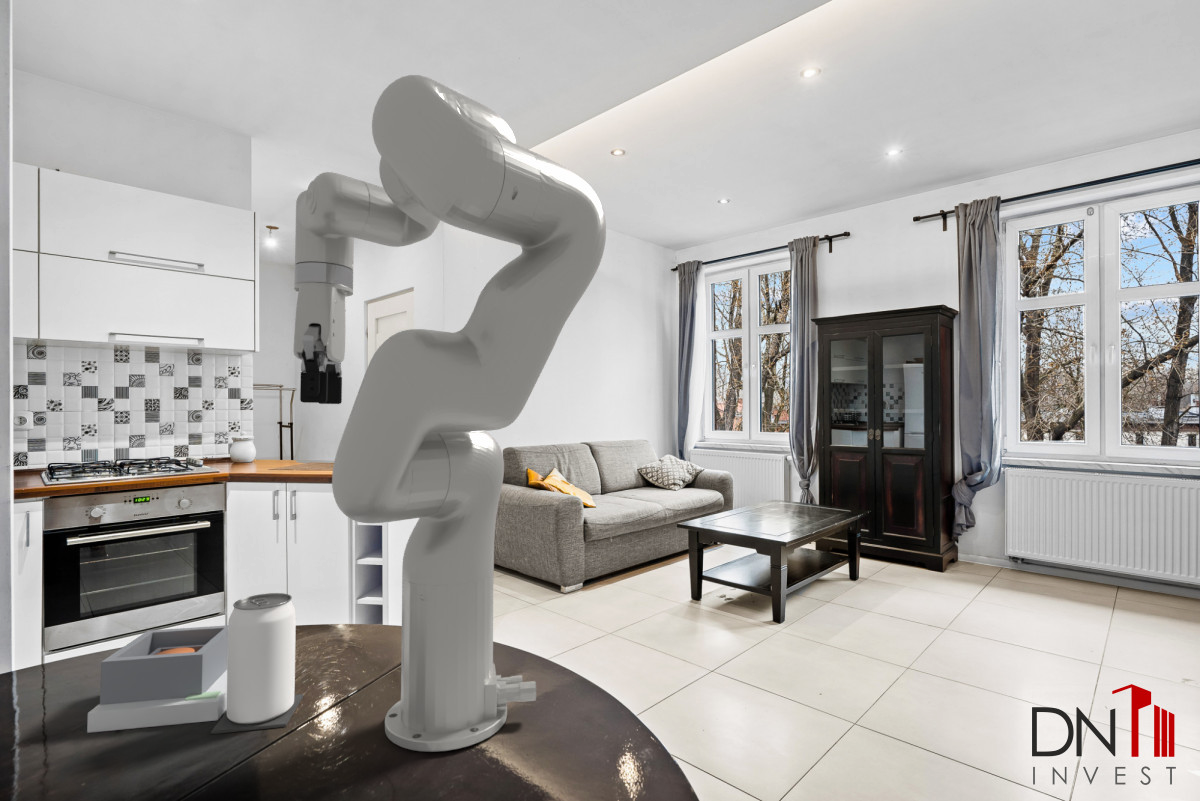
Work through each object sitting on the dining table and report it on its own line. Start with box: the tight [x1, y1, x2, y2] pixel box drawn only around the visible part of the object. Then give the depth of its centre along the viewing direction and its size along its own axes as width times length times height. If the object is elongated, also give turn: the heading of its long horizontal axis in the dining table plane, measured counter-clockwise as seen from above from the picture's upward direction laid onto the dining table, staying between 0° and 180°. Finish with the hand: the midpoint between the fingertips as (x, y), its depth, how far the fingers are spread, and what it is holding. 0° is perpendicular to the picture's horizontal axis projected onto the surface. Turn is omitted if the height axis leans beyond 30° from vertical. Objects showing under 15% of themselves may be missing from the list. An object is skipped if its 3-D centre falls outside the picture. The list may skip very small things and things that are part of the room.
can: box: [226, 592, 297, 725], centre depth 66 cm, size 6×6×12 cm
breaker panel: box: [86, 624, 228, 734], centre depth 69 cm, size 12×13×6 cm
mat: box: [210, 693, 304, 735], centre depth 66 cm, size 7×7×1 cm
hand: (322, 403), depth 84 cm, fingers open, 9 cm apart
